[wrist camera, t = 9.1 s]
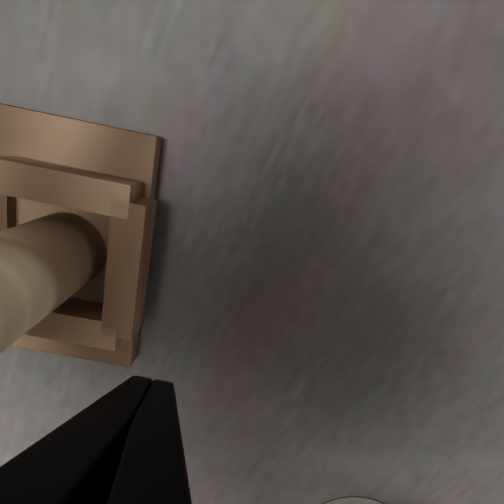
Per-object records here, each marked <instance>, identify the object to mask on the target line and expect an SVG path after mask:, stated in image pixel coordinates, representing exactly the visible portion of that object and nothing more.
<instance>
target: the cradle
mask: <svg viewBox="0 0 504 504" xmlns="http://www.w3.org/2000/svg"><path fill="white" fill-rule="evenodd" d="M161 145H162V137H158V136H153V135H149V134H144V133H139V132H134V131H130V130H125V129H120V128H115V127H110V126H106V125H101V124H96V123H91V122H87V121H82V120H77V119H72V118H67V117H63V116H58V115H53V114H48V113H43V112H39V111H34V110H29V109H24V108H20V107H15V106H10V105H5V104H0V231H3V230H6V229H9V228H12V227H15V226H17V225H20V224H23V223H26V222H29V221H32V220H35V219H38V218H41V217H44V216H46V215H49V214H53V213H57V212H68V213H73V214H76V215H78V216H81V217H83V218H84V219H86V220H87V221H89V222H90V223H91V224H92V225H93V226H94V227H95V228H96V229H97V230H98V232H99V233H100V235H101V237H102V239H103V241H104V244H105V250H106V258H105V263H104V265H103V268H102V269H101V271H100V272H99V273H98V274H97V275H96V276H95V277H94V278H93V279H92V280H90V281H89V282H88V283H87V284H85V285H84V286H83V287H82V288H80V289H79V290H78V291H77V292H76V293H74V294H73V295H72V296H71V297H69V298H68V299H67V300H66V301H64V302H63V303H62V304H61V305H60V306H58V307H57V308H56V309H55V310H53V311H52V312H51V313H50V314H48V315H47V316H46V317H45V318H43V319H42V320H41V321H40V322H39V323H37V324H36V325H35V326H34V327H32V328H31V329H30V330H29V331H27V332H26V333H25V334H24V335H23V336H21V337H20V338H19V339H18V340H16V341H15V342H14V343H13V344H11V346H16V347H22V348H27V349H33V350H39V351H44V352H50V353H55V354H61V355H66V356H72V357H77V358H83V359H88V360H94V361H99V362H105V363H110V364H116V365H121V366H127V367H131V365H132V363H133V362H134V360H135V358H136V355H137V346H138V338H139V329H140V326H141V325H142V323H143V314H144V306H145V298H146V290H147V281H148V273H149V265H150V257H151V248H152V240H153V232H154V224H155V215H156V207H157V200H155V195H156V187H157V178H158V170H159V162H160V153H161Z"/></svg>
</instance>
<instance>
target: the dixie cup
mask: <svg viewBox="0 0 504 504" xmlns="http://www.w3.org/2000/svg"><path fill="white" fill-rule="evenodd" d="M325 504H382V503H380V502H378V501H375V500H371V499H367V498H360V497H348V498H340V499H336V500H333V501H330V502H327V503H325Z"/></svg>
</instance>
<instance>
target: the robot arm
mask: <svg viewBox="0 0 504 504" xmlns="http://www.w3.org/2000/svg"><path fill="white" fill-rule="evenodd" d="M0 504H192V502H191V495H190V488H189V482H188V475H187V469H186V462H185V456H184V449H183V442H182V436H181V429H180V423H179V416H178V410H177V403H176V396H175V390H174V385H173V383H172V382H169V381H163V380H158V379H157V380H154V381H153V380H152V379H151V378H146V377H141V376H132V377H130V378H129V379H128V380H126V381H125V382H123V383H122V384H120V385H119V386H117V387H116V388H114V389H113V390H112V391H110V392H109V393H107V394H106V395H104V396H103V397H101V398H100V399H98V400H97V401H96V402H94V403H93V404H91V405H90V406H88V407H87V408H85V409H84V410H82V411H81V412H79V413H78V414H77V415H75V416H74V417H72V418H71V419H69V420H68V421H66V422H65V423H63V424H62V425H61V426H59V427H58V428H56V429H55V430H53V431H52V432H50V433H49V434H47V435H46V436H45V437H43V438H42V439H40V440H39V441H37V442H36V443H34V444H33V445H31V446H30V447H28V448H27V449H26V450H24V451H23V452H21V453H20V454H18V455H17V456H15V457H14V458H12V459H11V460H10V461H8V462H7V463H5V464H4V465H2V466H1V467H0Z"/></svg>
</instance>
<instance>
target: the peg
mask: <svg viewBox="0 0 504 504" xmlns="http://www.w3.org/2000/svg"><path fill="white" fill-rule="evenodd" d="M105 258H106V250H105V244H104V241H103V239H102V237H101V235H100V233H99V232H98V230H97V229H96V228H95V227H94V226H93V225H92V224H91V223H90V222H89V221H87V220H86V219H84V218H83V217H81V216H78V215H76V214H73V213H68V212H57V213H53V214H49V215H46V216H44V217H41V218H38V219H35V220H32V221H29V222H26V223H23V224H20V225H17V226H15V227H12V228H9V229H6V230H3V231H0V353H2V352H3V351H4V350H5V349H6V348H8V347H9V346H10V345H11V344H13V343H14V342H15V341H16V340H18V339H19V338H20V337H21V336H23V335H24V334H25V333H26V332H27V331H29V330H30V329H31V328H32V327H34V326H35V325H36V324H37V323H39V322H40V321H41V320H42V319H43V318H45V317H46V316H47V315H48V314H50V313H51V312H52V311H53V310H55V309H56V308H57V307H58V306H60V305H61V304H62V303H63V302H64V301H66V300H67V299H68V298H69V297H71V296H72V295H73V294H74V293H76V292H77V291H78V290H79V289H80V288H82V287H83V286H84V285H85V284H87V283H88V282H89V281H90V280H92V279H93V278H94V277H95V276H96V275H97V274H98V273H99V272H100V271H101V269H102V268H103V265H104V263H105Z"/></svg>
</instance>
